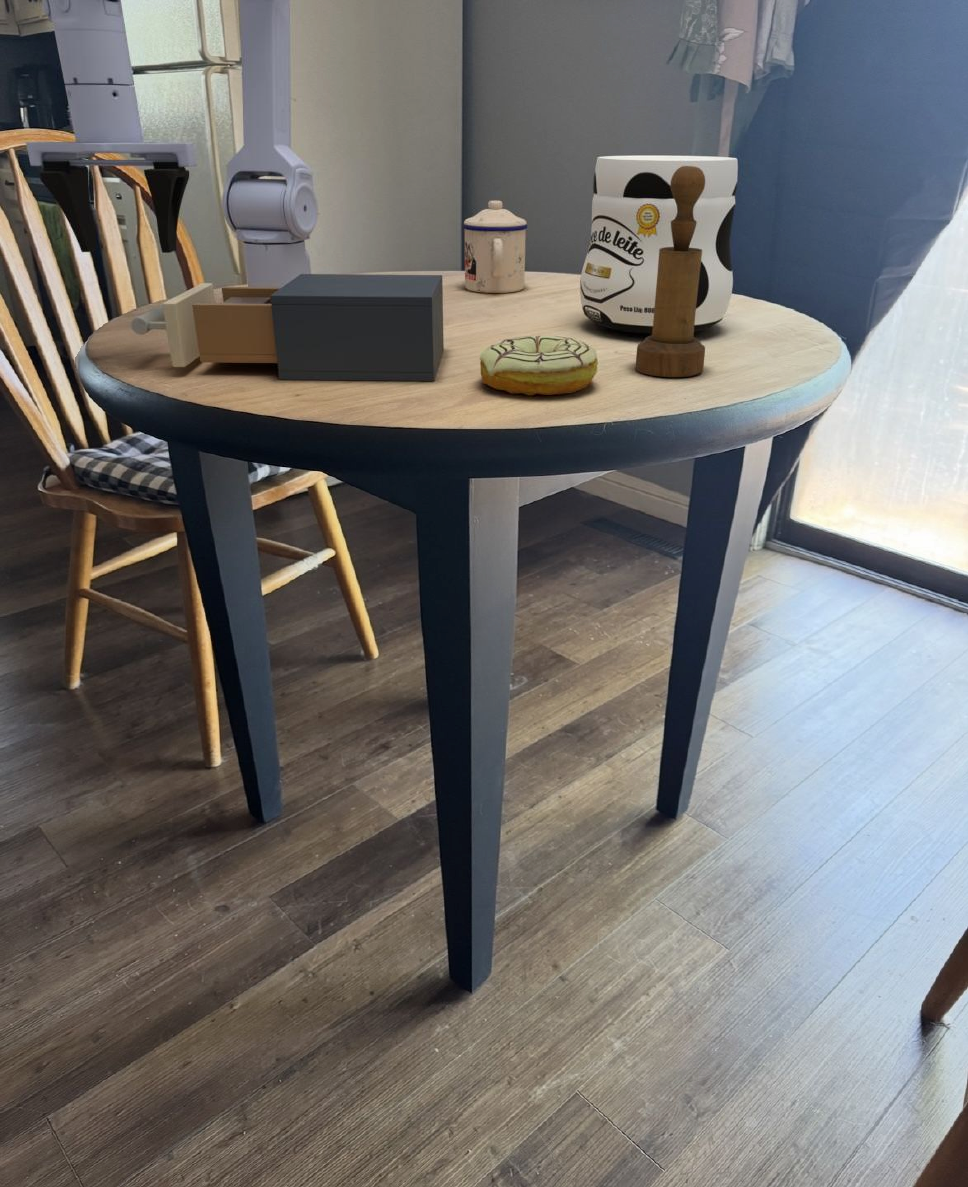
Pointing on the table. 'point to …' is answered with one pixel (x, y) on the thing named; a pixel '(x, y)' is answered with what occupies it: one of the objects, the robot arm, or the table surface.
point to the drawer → (214, 326)
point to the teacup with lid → (495, 251)
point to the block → (249, 300)
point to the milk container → (654, 238)
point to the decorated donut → (539, 365)
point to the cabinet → (359, 327)
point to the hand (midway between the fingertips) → (129, 251)
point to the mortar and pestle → (676, 290)
